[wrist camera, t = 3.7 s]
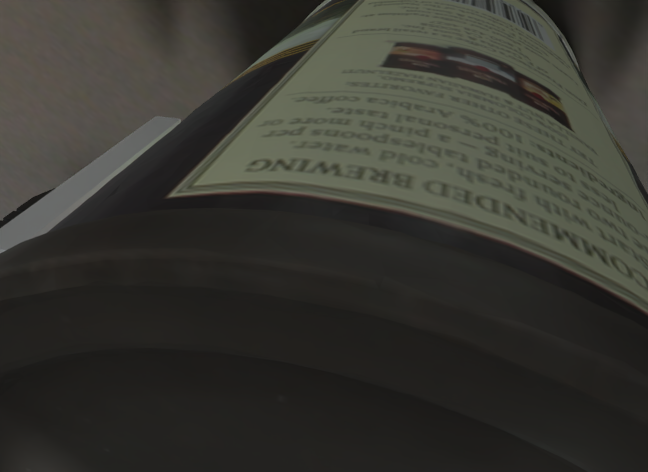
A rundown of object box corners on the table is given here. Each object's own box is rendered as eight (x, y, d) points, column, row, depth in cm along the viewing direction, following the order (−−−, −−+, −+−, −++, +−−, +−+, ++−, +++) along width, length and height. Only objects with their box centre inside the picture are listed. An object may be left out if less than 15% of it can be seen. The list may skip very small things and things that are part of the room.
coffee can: (304, 265, 21) (108, 695, 10) (233, -2, 16) (-349, 270, 5) (578, 260, 18) (746, 882, 7) (604, -74, 13) (1511, 229, 2)
